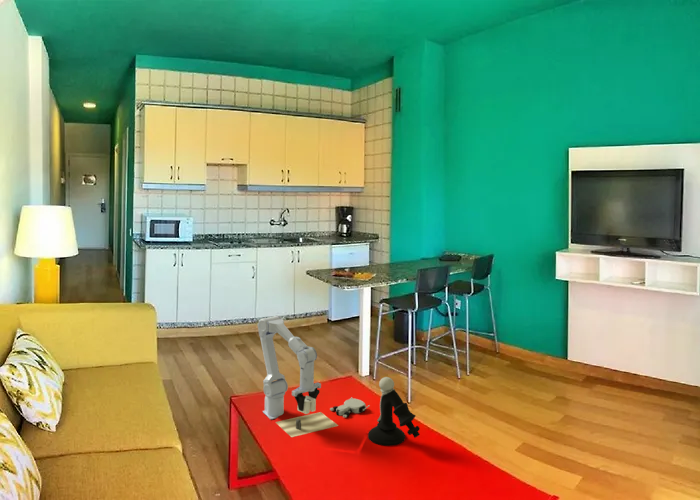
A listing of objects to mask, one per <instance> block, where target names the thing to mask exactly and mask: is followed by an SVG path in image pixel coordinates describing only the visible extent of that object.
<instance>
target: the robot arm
mask: <svg viewBox="0 0 700 500" xmlns="http://www.w3.org/2000/svg"><path fill="white" fill-rule="evenodd" d="M256 326H257V329H258V335H259V338H260V343H261V344H260V345H261V349H262V354H263V359H264V365H265V369H266V376H265V378H264V379H263V381H262V382H263V387H262V388H263V394H264V395H265V396H264V410H262V413H263V414H264V415H266V417H267V418H268V419H269V420H274V419H277V418H279V417H280V416H282V415H283V414H284V412H285V411H284V408H285V407H284V406H285V405H284V404H285V402H284V401H285V395H286V392H287V391H288V382H287V380H286V377H285V374H282V373H280V370H279V369H280V368H279V364H278V359H277V354H276V353H277V352H276V348H275V344H274V336H275V334H278V335H279V336H280V337H282V338H283V339H284V340H285V341H286V342H288V343H287V345H288V347H289V349H291V351H292V352H293V353H294V354H295V355H296V358H297V361H298V366H299V386H298V387H297V388H296V389H293V390H291V396H292V397H294V399H295V401H296V403H297V404H298V408H299V410H300V411H303V410H304V401H305V398H306V396H307V395H308V396H310V397H312V398H314V399H316V400H317V398H318V395H320V389H321V388H322V383H321V382H315V379H314V377H315V376H314V374H315V361H316V360H317V359H318V352H317V350H316V349H315V348H314V347H313V346H310V345H309V346H308V345H307V344H306V343H305V342H304V341H303V340H302V338H301V337H299V336H294V335H293V333H292V332H291V331H290V330H289V328H288V327H287V326H286V325H285V320H284V319H283V317H281V316H280V315H278V314H277V315H275V316H274V315H273V316H270V317H262V318H260V319H259V321H258V323H257V324H256ZM314 382H315V383H314ZM304 393H308V394H307V395H304ZM300 411H299V412H300Z"/></svg>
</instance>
